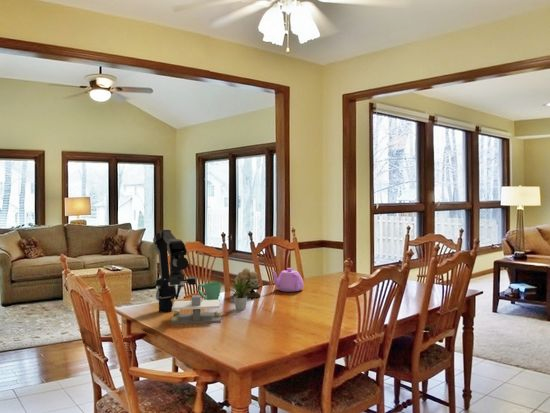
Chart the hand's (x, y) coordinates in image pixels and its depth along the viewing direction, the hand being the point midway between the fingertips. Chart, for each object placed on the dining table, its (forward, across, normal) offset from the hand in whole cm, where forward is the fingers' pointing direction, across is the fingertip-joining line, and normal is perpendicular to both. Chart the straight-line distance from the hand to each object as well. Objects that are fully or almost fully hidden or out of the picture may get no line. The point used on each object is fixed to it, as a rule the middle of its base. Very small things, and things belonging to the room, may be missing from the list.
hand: (176, 299), depth 230 cm
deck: (+3, +9, 0) cm, 10 cm away
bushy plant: (+10, +36, +47) cm, 60 cm away
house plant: (+10, +31, +16) cm, 37 cm away
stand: (+10, +9, 0) cm, 14 cm away
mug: (+10, +14, +37) cm, 41 cm away
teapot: (+10, +61, +60) cm, 86 cm away
